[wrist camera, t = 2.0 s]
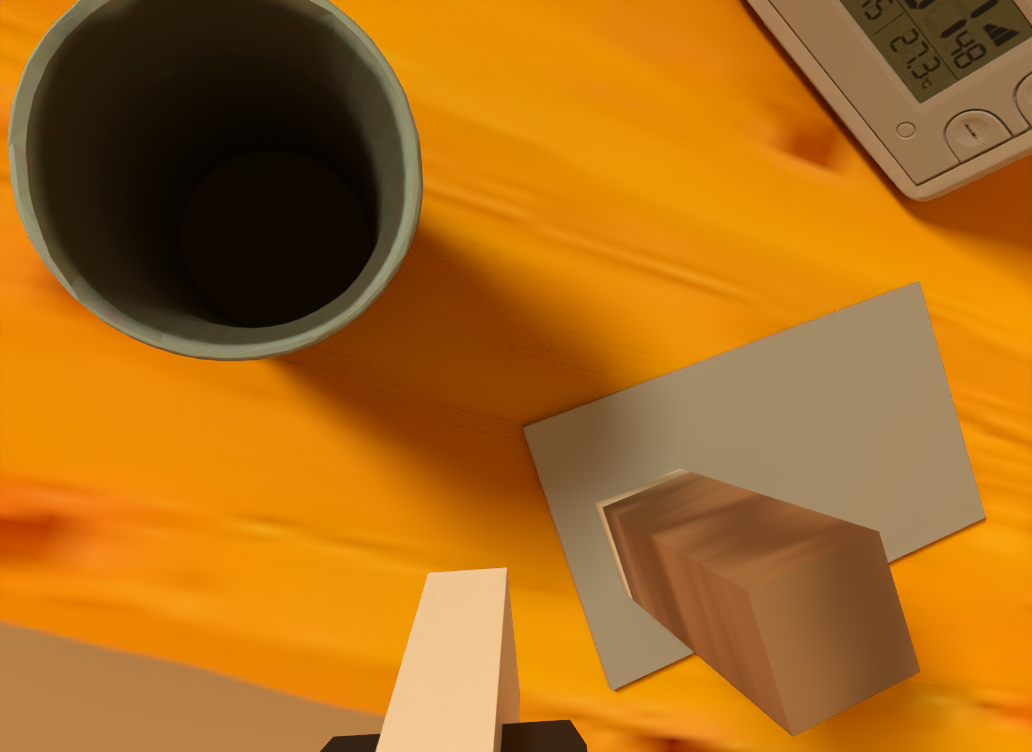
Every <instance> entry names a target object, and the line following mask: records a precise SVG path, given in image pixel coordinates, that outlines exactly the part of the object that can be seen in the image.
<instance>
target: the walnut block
mask: <svg viewBox="0 0 1032 752" xmlns="http://www.w3.org/2000/svg"><path fill="white" fill-rule="evenodd" d="M595 504H596V507H597V510H598V513H599V517H600V520H601V523H602V526H603V529H604V532H605V535H606V538H607V541H608V544H609V547H610V550H611V553H612V556H613V559H614V562H615V565H616V568H617V571H618V574H619V577H620V580H621V583H622V586H623V589H624V593H625V594H626V595H628V596H629V597H630V598H631V599H632V600H634V601H635V602H636V603H637V604H638V605H639V606H641V607H642V608H643V609H644V610H645V611H646V612H648V613H649V614H650V615H651V616H652V617H653V618H655V619H656V620H657V621H658V622H659V623H660V624H662V625H663V626H664V627H665V628H666V629H667V630H669V631H670V632H671V633H672V634H673V635H674V636H676V637H677V638H678V639H679V640H680V641H681V642H683V643H684V644H685V645H686V646H687V647H688V648H690V649H691V650H692V651H693V652H694V653H695V654H697V655H698V656H699V657H700V658H701V659H702V660H704V661H705V662H706V663H707V664H708V665H710V666H711V667H712V668H713V669H714V670H715V671H717V672H718V673H719V674H720V675H721V676H722V677H724V678H725V679H726V680H727V681H728V682H729V683H731V684H732V685H733V686H734V687H735V688H736V689H738V690H739V691H740V692H741V693H742V694H743V695H745V696H746V697H747V698H748V699H749V700H750V701H752V702H753V703H754V704H755V705H756V706H757V707H759V708H760V709H761V710H762V711H763V712H764V713H766V714H767V715H768V716H769V717H770V718H771V719H773V720H774V721H775V722H776V723H777V724H778V725H780V726H781V727H782V728H783V729H784V730H786V731H787V732H788V733H789V734H790V735H791V736H795V735H796V734H798V733H800V732H802V731H804V730H806V729H808V728H810V727H812V726H814V725H816V724H818V723H820V722H822V721H824V720H826V719H828V718H830V717H832V716H834V715H836V714H838V713H840V712H842V711H844V710H846V709H848V708H850V707H852V706H854V705H856V704H858V703H860V702H862V701H863V700H865V699H867V698H869V697H871V696H873V695H875V694H877V693H879V692H881V691H883V690H885V689H887V688H889V687H891V686H893V685H895V684H897V683H899V682H901V681H903V680H905V679H907V678H909V677H911V676H913V675H915V674H917V673H919V672H920V669H919V666H918V662H917V659H916V655H915V652H914V649H913V645H912V642H911V638H910V635H909V632H908V628H907V625H906V621H905V618H904V615H903V611H902V608H901V604H900V601H899V598H898V594H897V591H896V587H895V584H894V581H893V577H892V574H891V571H890V567H889V564H888V560H887V557H886V554H885V550H884V547H883V543H882V540H881V537H880V533H879V531H876V530H873V529H870V528H867V527H863V526H860V525H857V524H854V523H851V522H848V521H845V520H841V519H838V518H835V517H832V516H829V515H826V514H822V513H819V512H816V511H813V510H810V509H807V508H803V507H800V506H797V505H794V504H791V503H788V502H784V501H781V500H778V499H775V498H772V497H769V496H766V495H762V494H759V493H756V492H753V491H750V490H747V489H743V488H740V487H737V486H734V485H731V484H728V483H724V482H721V481H718V480H715V479H712V478H709V477H706V476H702V475H699V474H696V473H693V472H690V471H687V470H683V469H679V470H676V471H674V472H671V473H669V474H666V475H664V476H661V477H659V478H656V479H654V480H651V481H649V482H646V483H644V484H641V485H639V486H636V487H634V488H631V489H629V490H626V491H624V492H621V493H619V494H616V495H614V496H611V497H609V498H606V499H604V500H601V501H599V502H596V503H595Z"/></svg>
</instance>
